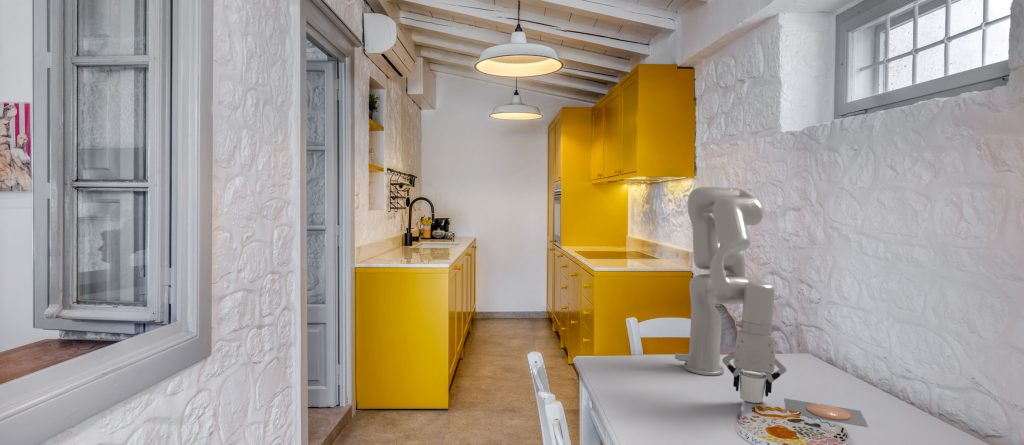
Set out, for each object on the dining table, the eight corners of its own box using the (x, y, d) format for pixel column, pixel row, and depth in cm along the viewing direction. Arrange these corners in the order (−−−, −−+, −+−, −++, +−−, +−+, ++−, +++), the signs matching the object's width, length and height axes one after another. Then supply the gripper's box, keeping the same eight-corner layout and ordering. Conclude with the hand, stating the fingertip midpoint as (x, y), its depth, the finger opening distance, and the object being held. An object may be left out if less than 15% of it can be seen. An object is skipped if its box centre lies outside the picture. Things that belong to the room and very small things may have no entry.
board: (786, 418, 142) (786, 413, 142) (784, 403, 153) (784, 398, 153) (868, 433, 135) (868, 427, 135) (859, 416, 146) (860, 410, 146)
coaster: (808, 415, 141) (808, 413, 141) (804, 402, 150) (805, 401, 150) (853, 423, 137) (853, 421, 137) (847, 409, 146) (847, 408, 146)
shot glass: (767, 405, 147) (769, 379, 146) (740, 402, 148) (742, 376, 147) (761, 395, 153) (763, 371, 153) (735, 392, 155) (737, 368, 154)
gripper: (721, 326, 149) (717, 390, 151) (793, 336, 142) (787, 403, 144) (723, 320, 156) (718, 382, 157) (791, 329, 149) (786, 393, 150)
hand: (751, 391), depth 150 cm, fingers closed on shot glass, 6 cm apart
